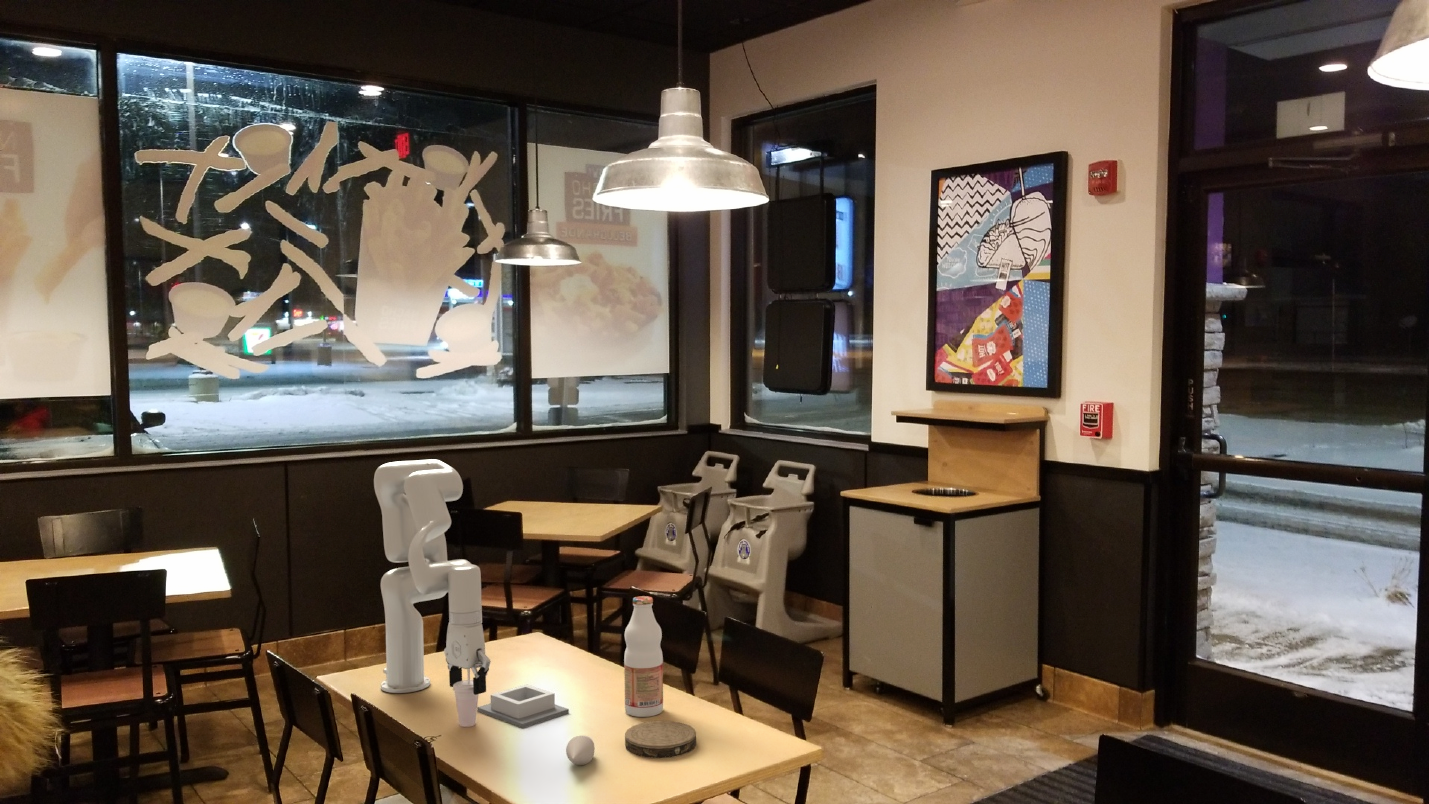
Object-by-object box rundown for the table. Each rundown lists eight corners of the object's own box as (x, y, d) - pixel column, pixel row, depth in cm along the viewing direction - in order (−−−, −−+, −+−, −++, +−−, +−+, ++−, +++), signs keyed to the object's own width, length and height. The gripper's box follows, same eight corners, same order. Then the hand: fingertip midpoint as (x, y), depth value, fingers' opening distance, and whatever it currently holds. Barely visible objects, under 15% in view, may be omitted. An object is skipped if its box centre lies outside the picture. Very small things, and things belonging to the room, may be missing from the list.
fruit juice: (616, 713, 261) (615, 599, 260) (641, 702, 269) (640, 592, 268) (646, 720, 256) (645, 604, 254) (671, 709, 263) (669, 596, 262)
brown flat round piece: (611, 743, 242) (611, 730, 241) (670, 728, 251) (670, 716, 251) (650, 765, 229) (649, 751, 229) (710, 748, 238) (710, 735, 238)
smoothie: (474, 729, 250) (473, 670, 250) (448, 728, 252) (447, 669, 251) (485, 720, 257) (484, 662, 256) (460, 718, 258) (459, 661, 257)
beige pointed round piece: (570, 780, 220) (583, 764, 235) (593, 761, 220) (604, 746, 235) (552, 756, 221) (566, 742, 235) (575, 737, 221) (587, 724, 236)
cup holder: (477, 711, 263) (477, 693, 263) (523, 697, 274) (523, 680, 274) (522, 728, 251) (522, 709, 251) (568, 713, 262) (568, 694, 261)
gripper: (431, 615, 256) (433, 686, 257) (473, 625, 244) (475, 700, 245) (458, 609, 262) (460, 679, 262) (500, 619, 250) (502, 692, 250)
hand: (467, 689), depth 253 cm, fingers open, 9 cm apart
